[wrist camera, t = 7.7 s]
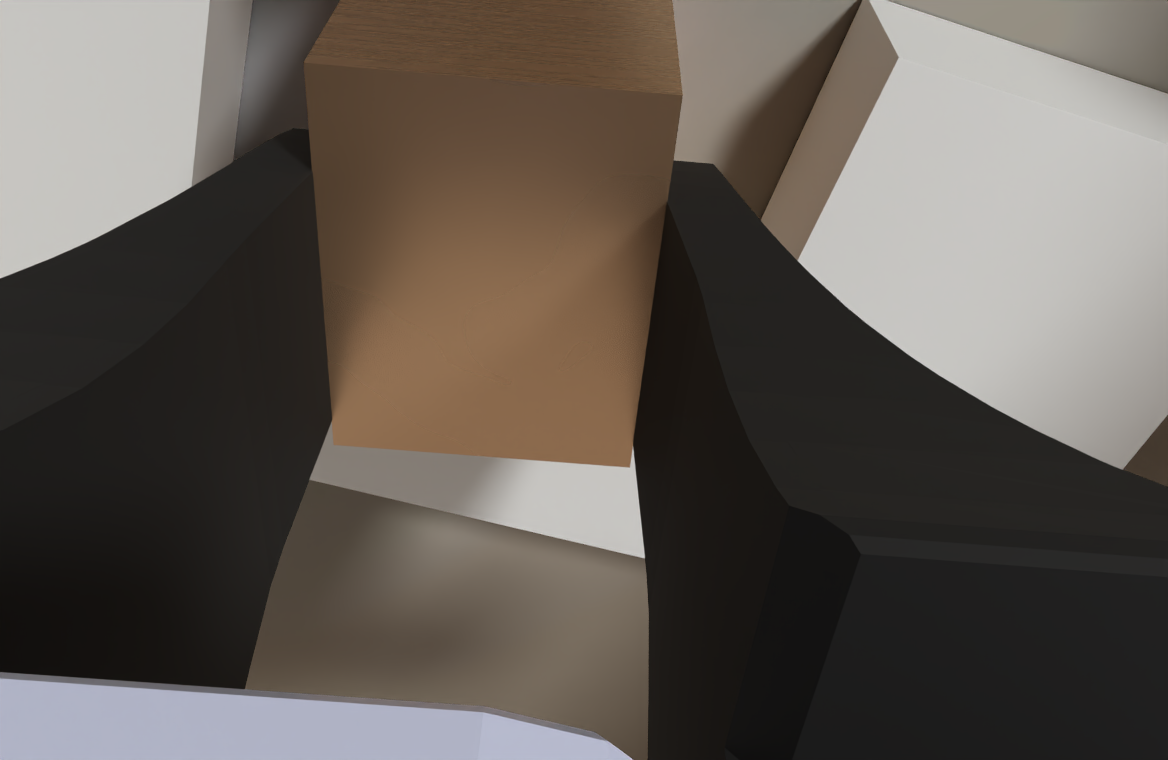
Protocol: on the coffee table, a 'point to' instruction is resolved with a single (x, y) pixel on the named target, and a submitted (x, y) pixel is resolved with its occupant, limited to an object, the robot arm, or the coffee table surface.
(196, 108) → the board
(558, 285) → the block
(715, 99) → the coffee table surface
